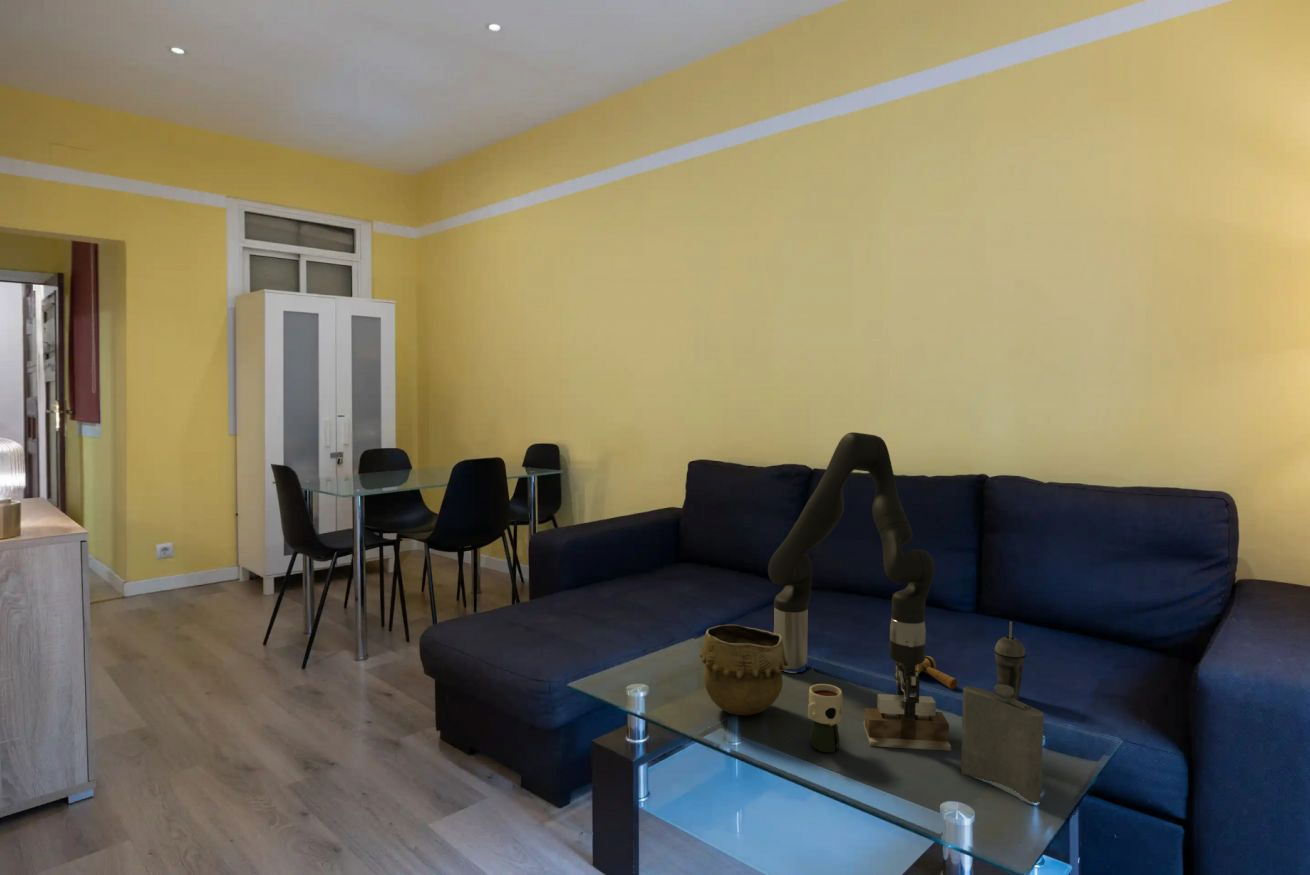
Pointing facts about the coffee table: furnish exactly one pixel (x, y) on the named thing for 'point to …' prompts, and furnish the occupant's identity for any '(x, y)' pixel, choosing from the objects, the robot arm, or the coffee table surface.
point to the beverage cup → (1010, 662)
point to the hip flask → (1002, 740)
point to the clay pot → (743, 668)
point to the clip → (895, 705)
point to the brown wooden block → (906, 731)
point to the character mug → (825, 716)
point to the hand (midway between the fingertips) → (905, 710)
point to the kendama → (935, 672)
